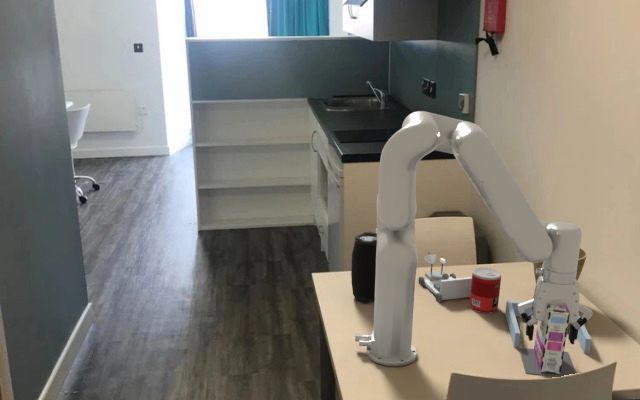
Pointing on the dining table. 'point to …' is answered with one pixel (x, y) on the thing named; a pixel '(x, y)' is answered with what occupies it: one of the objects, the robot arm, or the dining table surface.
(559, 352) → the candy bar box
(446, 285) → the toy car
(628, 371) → the dining table surface
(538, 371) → the mat
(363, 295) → the portable speaker
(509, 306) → the blue u-shaped frame
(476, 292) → the canned food
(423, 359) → the dining table surface
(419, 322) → the dining table surface
